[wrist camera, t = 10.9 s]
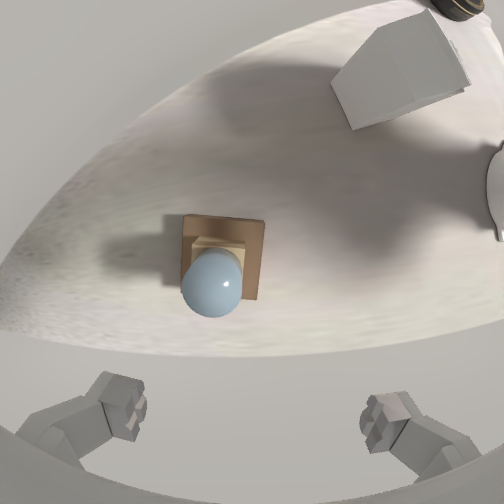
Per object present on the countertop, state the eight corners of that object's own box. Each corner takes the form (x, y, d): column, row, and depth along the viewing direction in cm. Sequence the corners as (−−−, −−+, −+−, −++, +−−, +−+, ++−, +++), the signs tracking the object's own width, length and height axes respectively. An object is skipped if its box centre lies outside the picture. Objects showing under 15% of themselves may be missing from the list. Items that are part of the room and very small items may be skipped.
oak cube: (245, 239, 31) (245, 249, 27) (241, 282, 32) (240, 299, 28) (200, 235, 31) (192, 244, 26) (197, 278, 32) (190, 293, 27)
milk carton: (351, 131, 32) (443, 88, 13) (329, 82, 30) (396, 6, 12) (394, 118, 31) (492, 82, 13) (372, 72, 30) (453, 10, 11)
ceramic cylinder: (244, 249, 27) (244, 263, 22) (240, 297, 28) (239, 320, 23) (193, 244, 26) (182, 257, 21) (191, 292, 27) (181, 314, 22)
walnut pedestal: (263, 220, 34) (264, 223, 31) (255, 291, 36) (256, 300, 33) (188, 214, 34) (183, 216, 31) (185, 284, 36) (180, 292, 33)
